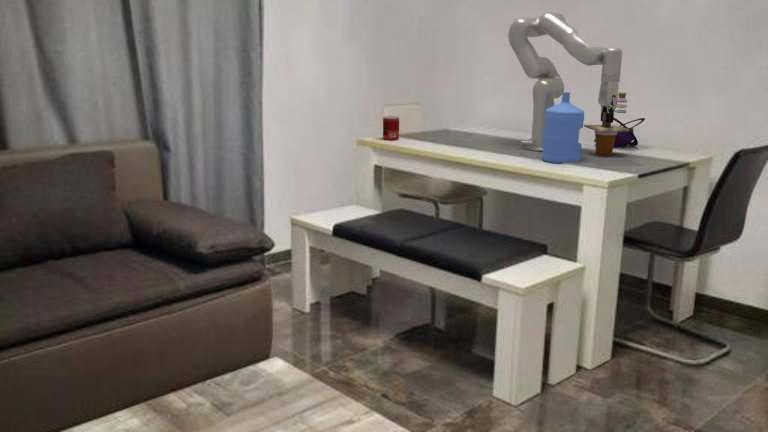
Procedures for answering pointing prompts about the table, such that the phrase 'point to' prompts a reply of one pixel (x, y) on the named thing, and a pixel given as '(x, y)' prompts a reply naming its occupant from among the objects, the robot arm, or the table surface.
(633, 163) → the rubber mat
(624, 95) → the decorative bottle
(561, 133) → the water jug
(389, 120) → the canned food
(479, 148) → the table surface
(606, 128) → the oak lid
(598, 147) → the disposable coffee cup
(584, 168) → the table surface
